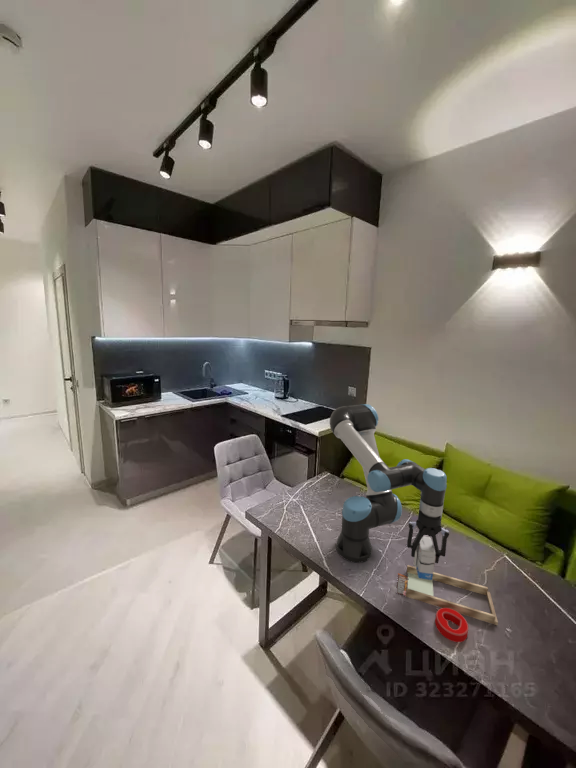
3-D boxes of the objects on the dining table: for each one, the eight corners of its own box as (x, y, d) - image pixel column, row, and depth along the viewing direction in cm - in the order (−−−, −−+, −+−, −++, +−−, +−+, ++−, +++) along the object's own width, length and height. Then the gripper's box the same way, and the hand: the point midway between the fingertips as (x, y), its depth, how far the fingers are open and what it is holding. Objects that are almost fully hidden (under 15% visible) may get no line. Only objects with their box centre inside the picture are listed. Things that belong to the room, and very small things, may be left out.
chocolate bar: (408, 601, 116) (408, 599, 115) (394, 595, 117) (394, 594, 117) (410, 578, 125) (410, 576, 125) (397, 573, 127) (398, 572, 127)
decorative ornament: (473, 634, 104) (475, 626, 103) (454, 648, 99) (456, 640, 99) (447, 609, 112) (448, 602, 111) (428, 622, 108) (429, 614, 107)
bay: (405, 596, 117) (406, 589, 116) (406, 570, 128) (407, 564, 127) (497, 625, 107) (498, 618, 106) (489, 594, 118) (490, 588, 117)
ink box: (432, 580, 114) (436, 552, 111) (418, 578, 115) (421, 550, 112) (427, 562, 122) (430, 536, 119) (414, 560, 123) (417, 534, 120)
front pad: (407, 595, 117) (407, 594, 117) (407, 572, 127) (408, 572, 127) (433, 603, 114) (434, 602, 114) (432, 579, 124) (432, 579, 124)
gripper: (402, 511, 113) (396, 566, 118) (461, 524, 106) (452, 581, 112) (403, 500, 120) (397, 552, 125) (458, 511, 113) (449, 566, 118)
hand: (423, 566), depth 118 cm, fingers closed on ink box, 5 cm apart
